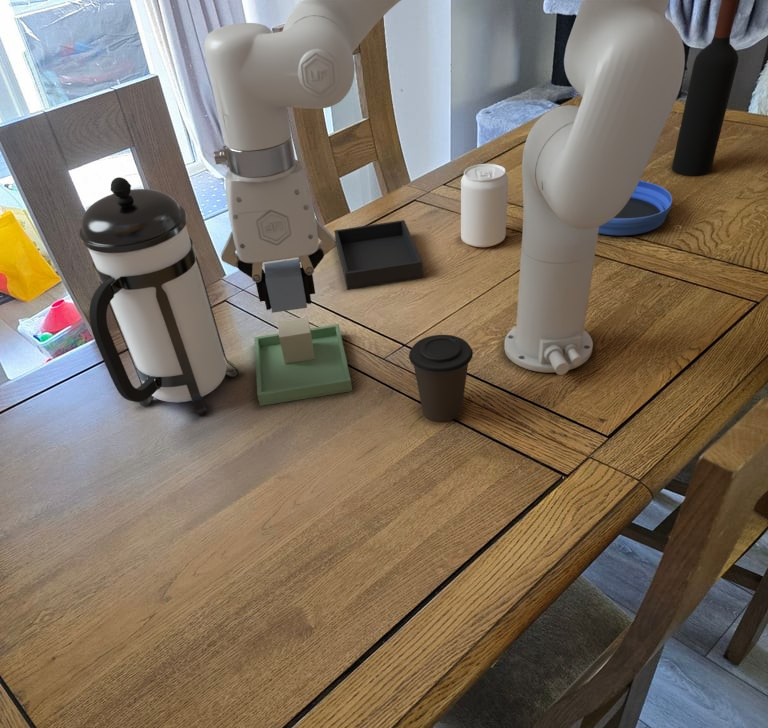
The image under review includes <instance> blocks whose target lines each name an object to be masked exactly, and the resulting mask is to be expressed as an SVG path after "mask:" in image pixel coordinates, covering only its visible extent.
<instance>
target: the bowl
mask: <svg viewBox="0 0 768 728" xmlns="http://www.w3.org/2000/svg"><path fill="white" fill-rule="evenodd" d="M672 207H673V196H672V194H671V192H670V191H669V190H668V189H666V188H665V187H662V186H660V185H659V184H655V183H653V182H649V181H645V180H640V181H639V183H638V185H637V187H636V189H635V191H634V192H633V194H632V196H631V198H630V199H629V201H628V202H627V204H626V205H625V206H624V208H623V209H622V210H621V211H620V212H619V213H618V214H617V215H616V216H615V217H614V218H613V219H611V220H610V221H608V222H607V223H605V224H603V225H601V226H599V232H598V235H599V234H600V235H607V236H619V237H620V236H634V235H641V234H645V233H648V232H651V231H654V230H656V229H657V228H659V227H660V226H662V225H663V223H664V222H665V221H666V219H667V216H668V215H669V213H670V210H671V209H672Z"/></svg>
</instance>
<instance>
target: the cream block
mask: <svg viewBox="0 0 768 728" xmlns="http://www.w3.org/2000/svg"><path fill="white" fill-rule="evenodd" d="M310 329H311V326H310V321H309V316H304V317H303V316H302V317H296V318H291V319H284V320H278V321H277V330H278V334H279V339H280V344H281V349H282V353H283V358H284V362H285V364H287V363H294V362H300V361H306V360H313V359H315V355H314V349H313V342H312V337H311V331H310Z"/></svg>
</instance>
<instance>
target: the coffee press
mask: <svg viewBox="0 0 768 728" xmlns="http://www.w3.org/2000/svg"><path fill="white" fill-rule="evenodd" d="M110 191H111V192H112V194H108V195H106V196H104V197H102V198H99V199H98V200H96V201H95V202H94V203H93V204H92V205H90V206H89V207H88V208H87V209H86V210H85V212H84V214H83V215H82V218H81V227H80V229H79V238H80V240H81V243H82V244H83V245H84V247H85V248H86V249H87V250H88V252H89V254H90V256H91V258H92V266H93V268H94V271H95V273H96V276H97V279H98V281H99V283H100V285H99V286H98V287H97V288H96V290H95V292H94V293H93V295H92V297H91V299H90V304H89V311H88V312H89V324H90V329H91V332H92V336H93V338H94V341H95V344H96V346H97V348H98V350H99V353H100V356H101V358H102V360H103V362H104V365H105V367H106V369H107V371H108V374H109V376H110V378H111V381H112V383H113V384H114V386H115V388H116V390H117V392H118V393H119V394H120V396H121V397H122V398H123V399H125V400H127V401H130V402H134V403H139V405H140V406H142V407H147V406H150V404H151V403H152V400H153V399H157V400H160V401H163V402H168V403H185V402H186V403H187V402H191V403H192V405H193V407H194V411H195V413H196V415H197V416H201V415H204V414H207V413H208V411H207V409H206V406H205V402H204V401H203V397H204V396H206V395H208V394H210V393H212V392H213V391H214V390H215V389H217V388H218V387H219V386H220V385H221V384H222V382H223V380H224V379H225V376H226V377H227V376H228V377H230V378H236V377H238V375H239V370H238V368H237V366H236V365H235V364H234V363H233V362H231V361H230V360H229V359H227V356H226V352H225V350H224V345H223V343H222V339H221V336H220V333H219V328H218V325H217V322H216V318H215V315H214V311H213V308H212V305H211V301H210V297H209V294H208V290H207V287H206V284H205V280H204V277H203V274H202V269H201V266H200V263H199V260H198V256H197V252H196V249H195V245H194V242H193V239H192V238H191V237H190V236H189V231H188V229H187V224H188V216H187V213H186V210H185V208H183V206H181V205H180V204H178V202H177V201H176V200H175V199H174V198H173V197H172V196H170V195H169V194H167V193H166V192H163V191H160V190H156V189H150V188H133V189H132V184H130V182H129V181H128V180H127V179H126V178H124V177H115V178H114V179H112V180H111V182H110ZM108 307H109V308H110V310H111V313H112V315H113V318H114V321H115V323H116V326H117V327H118V330H119V332H120V335H121V337H122V340H123V342H124V346H125V348H126V350H127V353H128V355H129V357H130V360H131V362H132V365H133V367H134V369H135V372H136V375H137V377H138V380H139V383H140V385H139V386H138V387H135V386H134V385H133V383H132V382H131V380H130V377H129V376H128V373H127V371H126V369H125V366H124V364H123V361H122V359H121V357H120V354H119V352H118V349H117V346H116V345H115V342H114V339H113V337H112V335H111V333H110V329H109V325H108V320H107V318H108V317H107V316H108V315H107V313H108ZM226 364H228V365H229V366H230V367H232V368H233V369H234V370H233V371H228V370H227V365H226Z"/></svg>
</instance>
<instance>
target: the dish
mask: <svg viewBox="0 0 768 728" xmlns="http://www.w3.org/2000/svg"><path fill="white" fill-rule="evenodd" d="M310 331H311V337H312V342H313V349H314V355H315V359H313V360H306V361H300V362H294V363H287V364H285V362H284V358H283V353H282V349H281V344H280V339H279V333H273V334H266V335H260V336H254V337H253V338H254V358H255V376H256V377H255V379H256V396H257V400H258V403H259V407H261V406H269V405H274V404H281V403H287V402H292V401H298V400H304V399H305V400H306V399H311V398H318V397H324V396H331V395H337V394H343V393H349V392H353V386H352V379H351V374H350V369H349V365H348V361H347V360H348V359H347V355H346V351H345V347H344V343H343V337H342V333H341V329H340V324H339V323H337V324H336V323H335V324H330V325H323V326H318V327H317V326H316V327H310Z"/></svg>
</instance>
